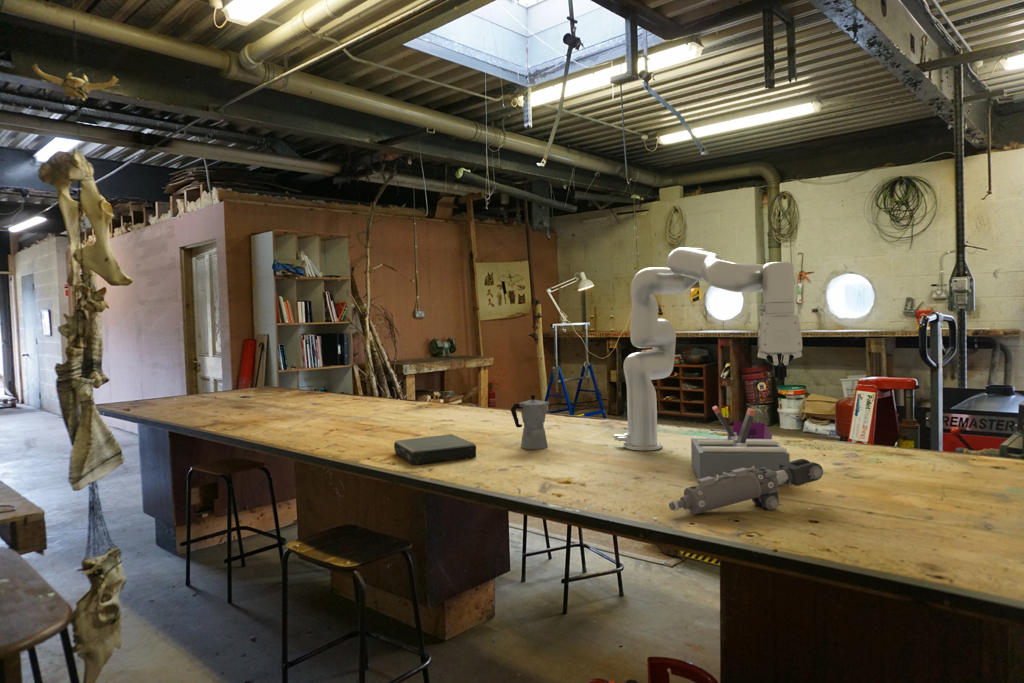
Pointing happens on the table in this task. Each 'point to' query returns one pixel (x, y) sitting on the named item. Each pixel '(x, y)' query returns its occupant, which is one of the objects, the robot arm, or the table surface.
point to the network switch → (434, 449)
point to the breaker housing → (734, 453)
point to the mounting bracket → (754, 430)
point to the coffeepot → (532, 423)
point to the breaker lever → (746, 426)
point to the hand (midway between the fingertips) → (780, 380)
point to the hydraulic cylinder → (746, 486)
